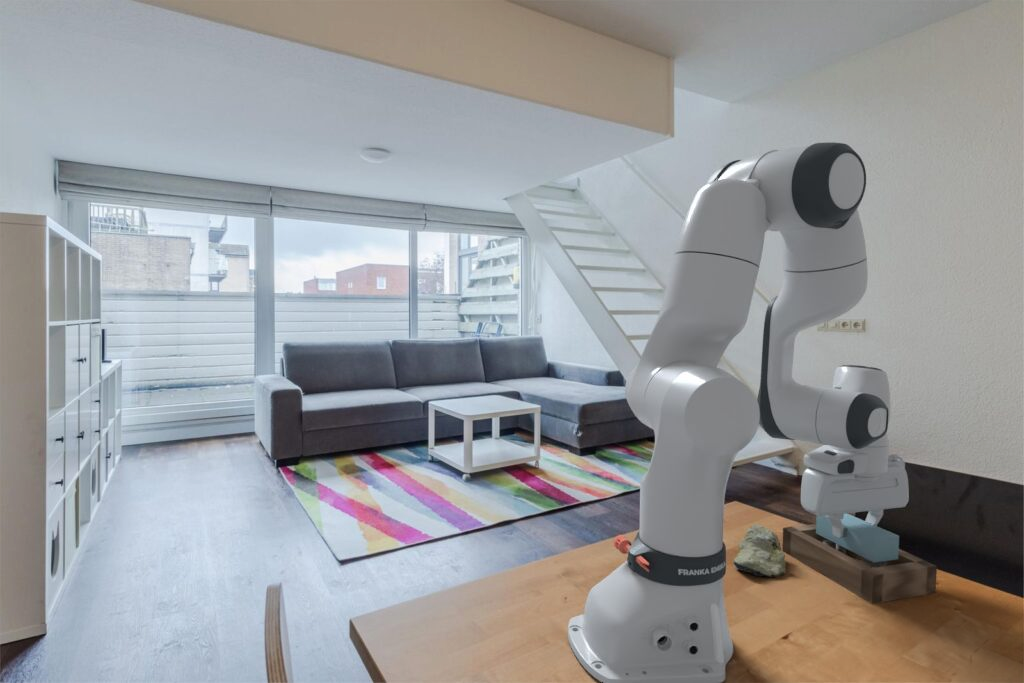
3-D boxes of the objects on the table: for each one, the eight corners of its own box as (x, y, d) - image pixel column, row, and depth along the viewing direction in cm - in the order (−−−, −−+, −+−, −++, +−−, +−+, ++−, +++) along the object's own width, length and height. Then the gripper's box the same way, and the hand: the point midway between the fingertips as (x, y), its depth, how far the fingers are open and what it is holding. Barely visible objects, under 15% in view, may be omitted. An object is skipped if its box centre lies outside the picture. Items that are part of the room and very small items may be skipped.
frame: (871, 603, 83) (873, 575, 83) (782, 550, 102) (783, 527, 102) (935, 592, 87) (936, 565, 86) (837, 543, 105) (838, 521, 105)
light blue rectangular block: (815, 533, 99) (816, 512, 99) (837, 530, 100) (838, 509, 100) (874, 562, 87) (875, 538, 87) (898, 559, 89) (899, 535, 88)
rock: (742, 585, 91) (801, 578, 91) (736, 549, 91) (796, 542, 90) (722, 558, 102) (775, 551, 101) (717, 525, 102) (770, 519, 101)
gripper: (887, 449, 99) (884, 522, 99) (795, 456, 94) (793, 532, 94) (921, 458, 93) (917, 535, 93) (824, 466, 88) (821, 548, 88)
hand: (854, 534), depth 94 cm, fingers closed on light blue rectangular block, 5 cm apart
